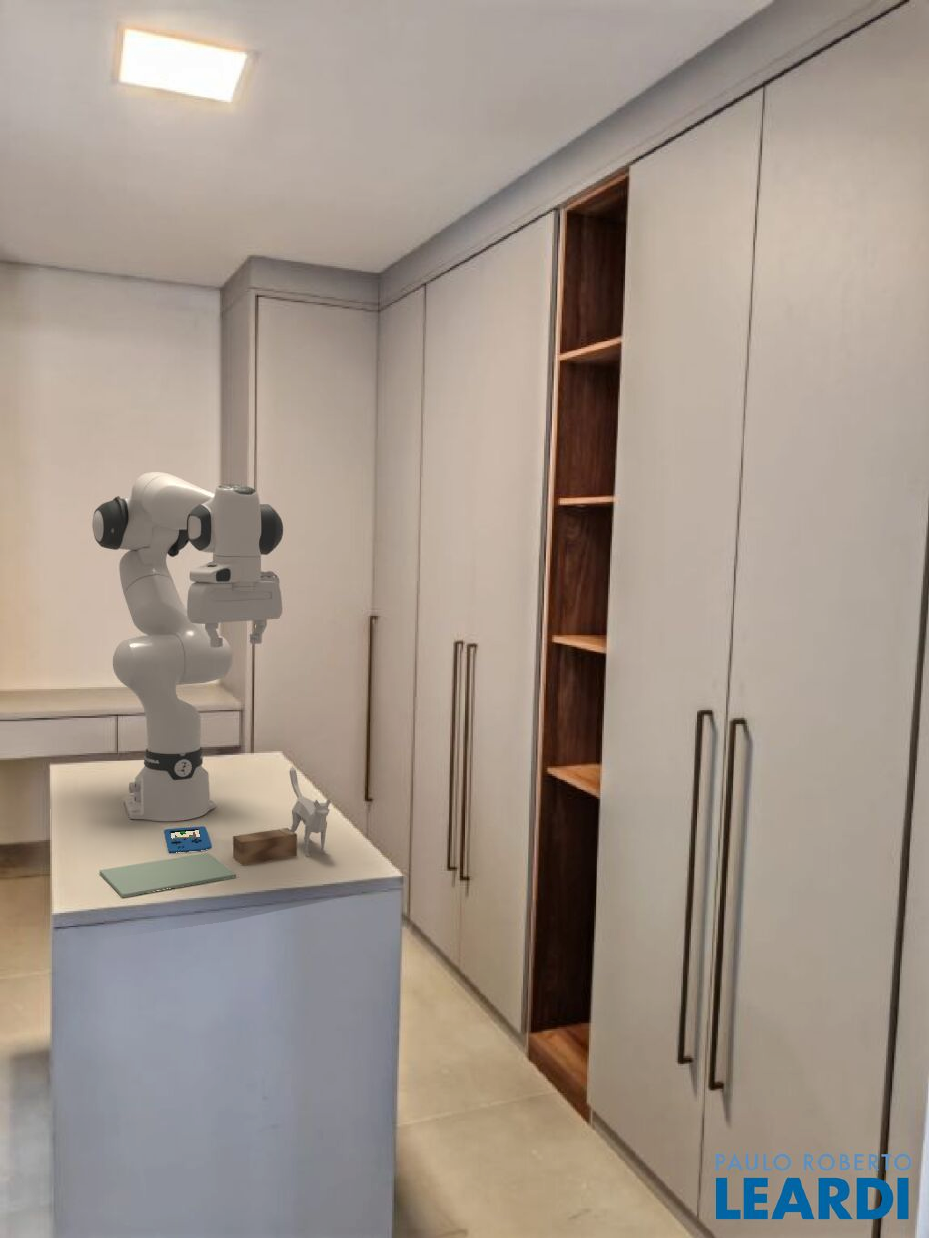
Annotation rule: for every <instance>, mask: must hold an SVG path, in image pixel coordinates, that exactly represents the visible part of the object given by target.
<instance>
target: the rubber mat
mask: <svg viewBox="0 0 929 1238" xmlns="http://www.w3.org/2000/svg"><path fill="white" fill-rule="evenodd" d="M99 874H100V876H101V877H102V878H103V879H104V880H105V881H106V882H107V883H108V884H109V886H111V887H112V888H113V890H114V891H115V892H116V893H117V892H118V893H117V894H118V895H119V896H120V897H121V898H122V897H125V898H129V897H135V896H136V895H137V896H140V895H139V894H142V895H145V894H144V893H148V892H153V891H157V890H163V889H167V888H168V889H169V888H175V889H180V888H179V887H181V888H184V887H183V886H186V887H191V886H190V885H192V886H197V885H202V883H203V884H207V882H208V883H212V882H213V881H214V882H219V881H225V880H229V878H230V879H235V878H237V873H236V872H234V871H233V870H232V869H230V868H229V867H227V866H226V865H225V864H223V862H221V861H220V860H218V859H217V858H215V856H213V855H212V854H210V853H209V852H203V853H202V852H201V853H197V854H190V855H186V856H179V857H178V856H177V857H172V858H165V859H159V860H154V861H149V862H141V863H135V864H129V865H123V866H118V867H117V866H116V867H112V868H105V869H99ZM224 879H225V880H224ZM196 884H197V885H196ZM153 893H154V892H153ZM148 894H149V893H148Z"/></svg>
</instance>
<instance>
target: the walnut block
mask: <svg viewBox="0 0 929 1238" xmlns="http://www.w3.org/2000/svg"><path fill="white" fill-rule="evenodd" d="M297 844H298V834H297V833H296V832H293V831H291V829H290V828H288V827H283V828H278V829H271V830H265V831H259V832H251V833H244V834H238V835H237V834H236V835H233V836H232V859H233V858H234V859H233V860H235V861H236V863H238V864H240V865H241V866H244V865H250V864H257V863H263V862H264V863H265V862H269V861H275V860H281V859H286V858H287V859H289V858H294V857H297V856H298V853H297V851H298V845H297Z"/></svg>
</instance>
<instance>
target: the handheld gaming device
mask: <svg viewBox="0 0 929 1238" xmlns="http://www.w3.org/2000/svg"><path fill="white" fill-rule="evenodd" d="M195 830H199V834H200V837H196V834H195V832H193V835H189V837H177V836H176V835H175V838H173V839H172V838H171V833H175V832H180V834H181V835H183V834H186V833H185V832H186V831H195ZM163 834H165V835H164V838H165V843H167V844H166V848H167V852H169V853H168V854H170V853H173V854H179V853H178V852H185V853H190V852H189V851H198V852H202V851H201V850H206V849H209V850H211V849H212V847H213V843H212V841H211V838H210V835H209V833H208V830H207V828H206V826H204V825H203V826H202V825H201V826H189V827H177V828H176V827H175V828H166V829H164V830H163ZM206 851H207V850H206ZM176 852H177V853H176Z"/></svg>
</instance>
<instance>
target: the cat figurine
mask: <svg viewBox="0 0 929 1238" xmlns="http://www.w3.org/2000/svg"><path fill="white" fill-rule="evenodd" d="M289 778H290V782H291V783H290V784H291V787H292V789H293V792H294V794H295V796H296V797H297V801H296V803H295V804H294V806H293V807H292V810H291V815H292V816H291V817H292V825H291V827H290V828H291V829H290V830H291V831H293V832H294V833H296V831H297V829H298V827H299V825H300V823H301V822H302V823H303V825H304V839H303V841H304V855H305V856H306V857H310V856H311V855H310V854H309V852H308V850H309V843H312V842H313V840H312V839H310V837H311V834H312V833H314V834H318V833H319V834H320V844H321V846H320V847H321V854H323V855H326V854H327V853H326V851H325V843H326V837H327V836H326V832H327V826H328V821H327V816H328V815H329V813H330V809H329V806H330V804H332V803H331V802H332V801H331V800H330V799H329V798H327V799H326V801H325V802H319V801H318V799H316V800H315V801H314V800H311V799H310V798H307V797H305V796H304V795H303V794H302V792H301V790H300V787H299V782H298V781H299V780H298V773H297V770H296V768H294V766H292V765H291V768H290V769H289Z"/></svg>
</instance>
